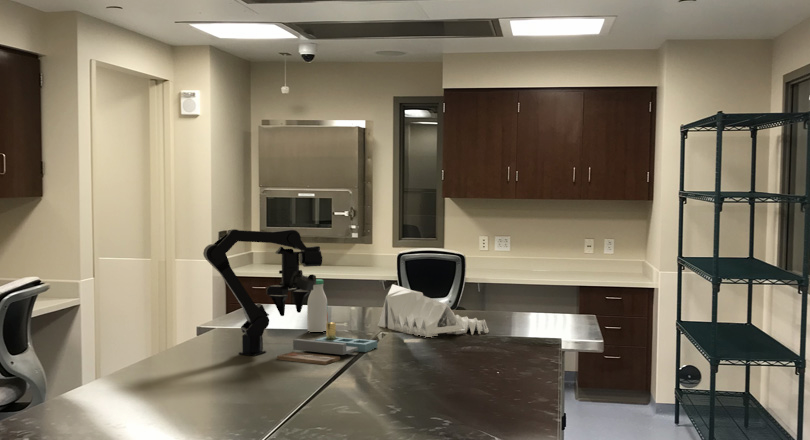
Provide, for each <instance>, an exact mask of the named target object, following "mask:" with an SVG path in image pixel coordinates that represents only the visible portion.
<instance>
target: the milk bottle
mask: <svg viewBox="0 0 810 440" xmlns="http://www.w3.org/2000/svg"><path fill="white" fill-rule="evenodd" d="M310 291H311V293H309V294H308V298H307V311H306V312H307V315H306V316H307V317H306V318H307V332H308V331H310V332H323V331H326V323H328V322H329V321H328V320H329V317H328V316H329V311H328V310H329V309H328V308H329V307H328V299H327V296H326V292H325V291H324V279H319V278H318V279H317V278H316V285H314V286H313V290H310ZM310 332H309V333H310ZM323 333H324V332H323Z"/></svg>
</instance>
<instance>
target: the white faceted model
mask: <svg viewBox="0 0 810 440" xmlns="http://www.w3.org/2000/svg"><path fill="white" fill-rule="evenodd" d="M487 325H488V324H487V322H486V319H484V318H483V319H481V320H478V318H477V317H474V318H469V317H468V316H461V315H459V314H455V312H454V311H453V310H452V309H451V307H450V306H449V304H447V303H444V302H441V301H439V300H437V299H433V298H431V297H428V296H426V295H424V293H423V292H421V291H418V290H412V289H409V288H406V287H403V286H400V285H396V284H393V283H392V284H391V287H390V289H389V290H388V293H387V294H386V295H385V299H384V303H383V306H382V309H381V314H380V318H379V322H378V323H377V327H380V328H387V329H388V330H392V331H396V332H401V333H404V334H409V335H412V334H414V336H418V335H420V336H419V337H421V336H425V337H424V338H426V337H431V338H433V337H432V336H439V335H438V334H445V333H446V334H447V335H448V334H449V335H450V334H454V335H462V334H467V332H468V331H469V330H470V334H471V335H472V336H473V335H474V333H475V331H476V332H477V333H478V335H481V334H482V333H481V332H484V334H488V333H489V328H488V326H487Z"/></svg>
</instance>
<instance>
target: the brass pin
mask: <svg viewBox="0 0 810 440" xmlns="http://www.w3.org/2000/svg"><path fill="white" fill-rule="evenodd" d="M336 325H337V324H336V322H335V321H334V322H333V321H331V322H329V321H328V323H326V332H325V333H326V334H325V335H326V336H325V337H326V340H336V337H337V335H336V334H337V330H336V329H337V327H336Z"/></svg>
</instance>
